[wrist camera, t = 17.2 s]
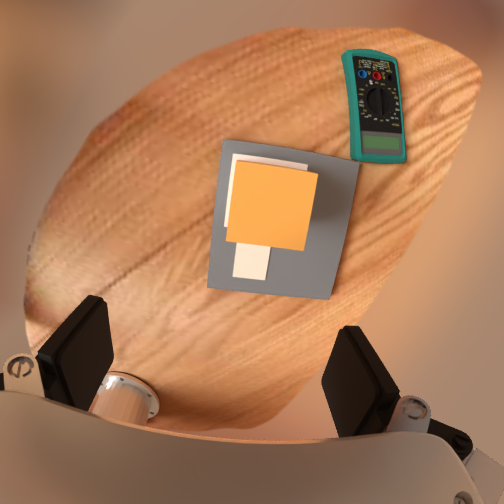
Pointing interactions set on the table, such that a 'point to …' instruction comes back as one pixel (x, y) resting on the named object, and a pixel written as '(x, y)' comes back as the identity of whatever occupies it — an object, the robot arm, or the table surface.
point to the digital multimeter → (374, 107)
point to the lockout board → (278, 259)
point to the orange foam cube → (270, 205)
